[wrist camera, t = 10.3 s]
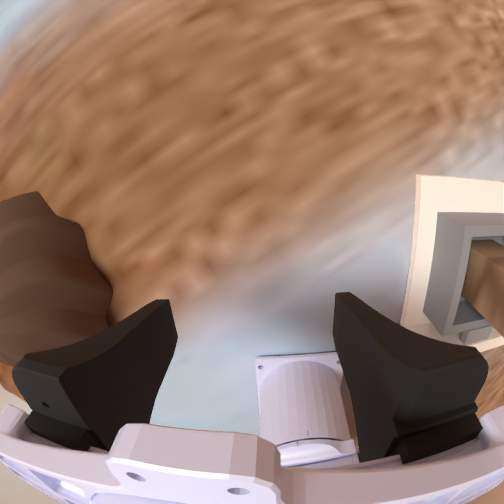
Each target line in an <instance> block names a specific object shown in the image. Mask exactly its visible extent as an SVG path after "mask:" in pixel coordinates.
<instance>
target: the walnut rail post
mask: <svg viewBox="0 0 504 504" xmlns="http://www.w3.org/2000/svg"><path fill="white" fill-rule="evenodd" d="M461 295H462V296H463V297H464V298H465V299H466V300H467V301H468V302H469V303H470V304H471V305H472V306H473V307H474V308H475V309H476V310H477V311H478V312H479V313H480V314H481V315H482V316H483V317H484V318H485V319H486V320H487V321H488V322H489V323H490V324H491V325H492V326H493V327H494V328H495V329H496V330H497V331H498V332H499V333H500V335H501V336H502V337H503V338H504V246H503V245H501V244H500V243H498V242H496V241H494V240H492V239H484V240H471V247H470V253H469V259H468V264H467V269H466V274H465V279H464V284H463V288H462V292H461Z"/></svg>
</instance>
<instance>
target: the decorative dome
mask: <svg viewBox="0 0 504 504" xmlns="http://www.w3.org/2000/svg"><path fill="white" fill-rule="evenodd" d="M112 295H113V291H112V288H111V286H110V285H109V284H108V283H107V281H106V280H105V279H104V278H103V276H102V275H101V274H100V272H99V271H98V270H97V269H96V267H95V266H94V265H93V263H92V262H91V258H90V255H89V251H88V247H87V243H86V238H85V234H84V231H83V229H82V227H81V226H80V225H79V224H76V223H74V222H71V221H69V220H66V219H64V218H61V217H59V216H57V215H55V213H54V212H53V211H52V210H51V208H50V207H49V206H48V204H47V203H46V202H45V200H44V199H43V197H42V196H41V195H40V193H39V192H31V193H26V194H22V195H18V196H15V197H13V198H10V199H8V200H3V201H1V202H0V362H2V363H4V364H6V365H10V366H13V367H14V366H15V365H16V364H17V363H18V362H19V361H20V360H21V359H22V358H23V356H24V355H25V354H27V353H33V352H40V351H46V350H51V349H56V348H60V347H63V346H67V345H70V344H73V343H76V342H79V341H81V340H84V339H87V338H89V337H92V336H94V335H96V334H98V333H100V332H102V331H104V330H106V329H108V328H109V327H108V323H107V319H106V313H107V310H108V307H109V304H110V301H111V298H112Z"/></svg>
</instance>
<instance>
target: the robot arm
mask: <svg viewBox="0 0 504 504" xmlns="http://www.w3.org/2000/svg"><path fill="white" fill-rule="evenodd" d="M333 337H334V342H335V347H336V352H330V353H318V354H304V355H288V356H263V357H257V358H256V359H255V371H256V382H257V392H258V403H259V413H260V432H259V436H257V435H252V434H245V433H239V432H223V431H206V430H193V429H183V428H174V427H166V426H159V425H152V424H149V423H150V418H151V414H152V410H153V406H154V403H155V399H156V396H157V393H158V391H159V388H160V386H161V383H162V381H163V379H164V376H165V374H166V372H167V369H168V367H169V365H170V362H171V360H172V357H173V355H174V351H175V347H176V343H177V339H178V335H177V331H176V327H175V323H174V319H173V315H172V310H171V306H170V302H169V299H163V300H155V301H152V302H151V303H149V304H147V305H146V306H144V307H142V308H141V309H139V310H138V311H136V312H135V313H133V314H132V315H130V316H128V317H127V318H125V319H124V320H122V321H120V322H118V323H117V324H115V325H113V326H112V327H110V328H108V329H106V330H104V331H102V332H100V333H98V334H96V335H94V336H92V337H89V338H87V339H84V340H81V341H79V342H76V343H73V344H70V345H67V346H63V347H60V348H56V349H51V350H46V351H40V352H33V353H27V354H25V355H24V356H23V358H22V359H21V360H20V361H19V362H18V363H17V364H16V365H15V366H14V367H13V370H12V377H13V380H14V383H15V385H16V386H17V388H18V390H19V391H20V393H21V394H22V396H23V397H24V399H25V400H26V402H27V403H28V405H29V406H30V408H31V409H32V410H33V411H32V412H31V414H30V415H28V414H27V413H26V412H25V411H23V410H21V409H19V408H17V407H15V406H13V405H10V404H8V405H7V406H6V408H5V409H4V410H3V411H2V413H1V414H0V461H1V462H2V463H3V464H4V465H5V466H6V467H8V468H9V469H10V470H11V471H12V472H13V473H14V474H15V475H16V476H18V477H19V478H21V479H22V480H24V481H25V482H27V483H29V484H30V485H32V486H34V487H35V488H37V489H39V490H40V491H42V492H44V493H45V494H47V495H49V496H51V497H52V498H54V499H56V500H57V501H59V502H61V503H63V504H466V503H468V502H469V501H471V500H473V499H475V498H477V497H479V496H480V495H482V494H484V493H486V492H488V491H489V490H491V489H493V488H494V487H496V486H497V485H498V484H500V483H501V482H502V481H503V480H504V405H502V406H500V407H498V408H496V409H494V410H492V411H489V412H487V413H486V414H484V415H483V416H481V417H480V418H479V419H478V418H477V416H476V414H475V412H477V410H478V407H477V405H476V403H475V402H474V401H475V399H476V397H477V396H478V394H479V392H480V390H481V388H482V386H483V384H484V382H485V380H486V377H487V375H488V368H489V367H488V363H487V361H486V360H485V359H484V357H483V356H482V355H481V353H480V352H479V351H478V350H477V348H476V347H471V346H464V345H457V344H452V343H447V342H443V341H439V340H436V339H432V338H429V337H426V336H424V335H421V334H418V333H416V332H413V331H411V330H409V329H407V328H405V327H403V326H400V325H398V324H397V323H395V322H393V321H391V320H390V319H388V318H386V317H385V316H383V315H382V314H380V313H378V312H377V311H376V310H374V309H373V308H371V307H370V306H368V305H367V304H366V303H364V302H363V301H362V300H360V299H359V298H357V297H356V296H355V295H353V294H352V293H350V292H344V293H336V295H335V310H334V323H333ZM337 361H339V362H337ZM259 365H262V367H260V366H259ZM343 373H344V376H345V379H346V382H347V385H348V388H349V391H350V395H351V399H352V404H353V410H354V415H355V422H356V428H357V436H358V445H359V451H358V456H357V452H356V447H355V443H354V440H353V439H351V437H350V433H349V428H348V424H347V419H346V415H345V410H344V406H343V402H342V397H341V393H340V387H341V382H342V376H343Z"/></svg>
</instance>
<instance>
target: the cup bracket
mask: <svg viewBox="0 0 504 504" xmlns="http://www.w3.org/2000/svg"><path fill="white" fill-rule="evenodd" d="M484 239H492V240H494V241H496V242H498V243H500V244H501V245H503V246H504V182H502V181H493V180H485V179H475V178H464V177H452V176H439V175H422V174H416V196H415V216H414V229H413V240H412V250H411V258H410V266H409V274H408V280H407V287H406V293H405V299H404V304H403V309H402V315H401V320H400V324H399V325H400V326H403V327H405V328H407V329H409V330H411V331H413V332H416V333H418V334H421V335H424V336H426V337H429V338H432V339H436V340H439V341H443V342H447V343H452V344H457V345H464V346H471V347H476V348H477V350H478V351H479V352H483V351H486V350H489V349H492V348H495V347H498V346H501V345H504V338H503V337H502V336H501V335H500V333H499V332H498V331H497V330H496V329H495V328H494V327H493V326H492V325H491V324H490V323H489V322H488V321H487V320H486V319H485V318H484V317H483V316H482V315H481V314H480V313H479V312H478V311H477V310H476V309H475V308H474V307H473V306H472V305H471V304H470V303H469V302H468V301H467V300H466V299H465V298H464V297H463V296H462V295H461V292H462V288H463V284H464V279H465V274H466V269H467V264H468V259H469V253H470V247H471V240H484Z"/></svg>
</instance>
